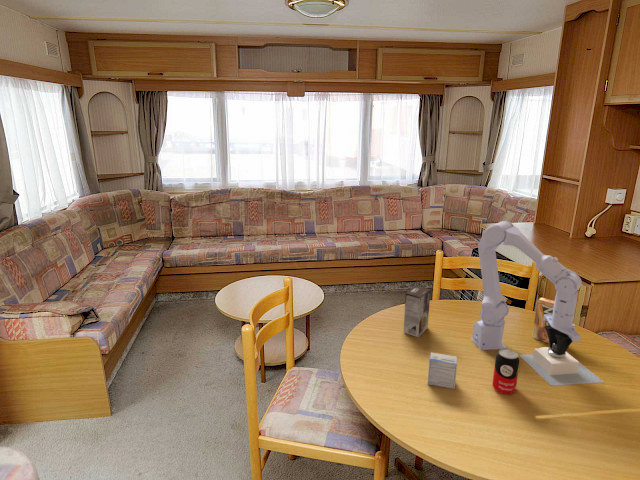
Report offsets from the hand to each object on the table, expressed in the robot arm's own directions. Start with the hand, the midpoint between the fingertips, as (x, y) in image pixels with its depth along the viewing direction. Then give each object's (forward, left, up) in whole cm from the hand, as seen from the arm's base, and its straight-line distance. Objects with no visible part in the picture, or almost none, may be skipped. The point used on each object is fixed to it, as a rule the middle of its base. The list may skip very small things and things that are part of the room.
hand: (556, 350), depth 131 cm
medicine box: (-39, -4, -6) cm, 40 cm away
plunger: (0, 0, -5) cm, 5 cm away
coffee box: (-36, +29, -6) cm, 47 cm away
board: (+1, -1, -6) cm, 6 cm away
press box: (0, 0, -6) cm, 6 cm away
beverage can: (-22, -9, -6) cm, 25 cm away
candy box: (+8, +16, -6) cm, 19 cm away
